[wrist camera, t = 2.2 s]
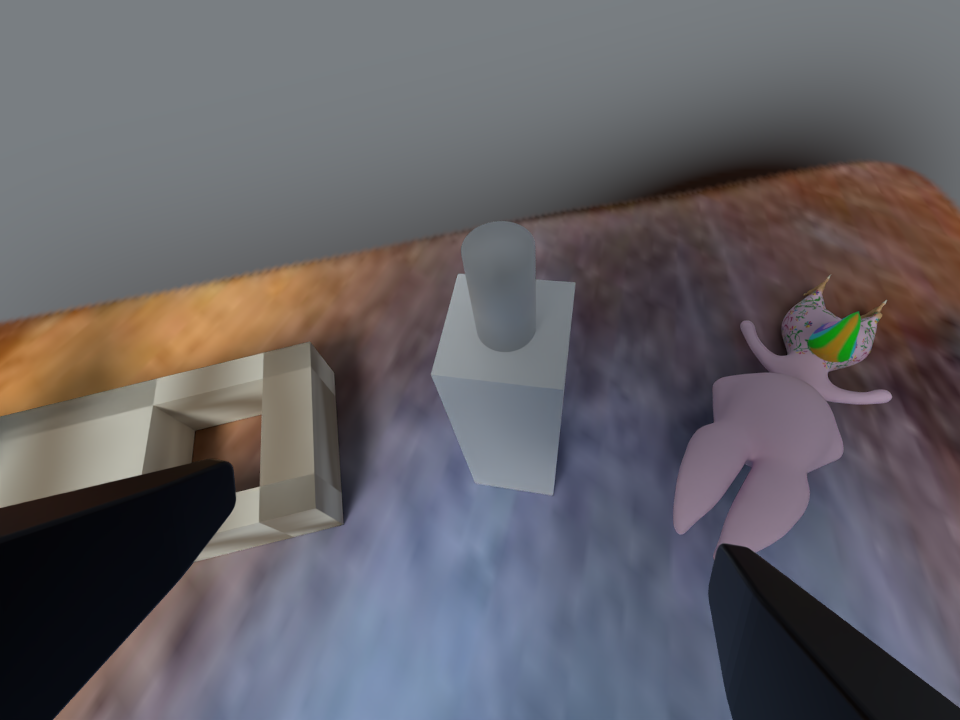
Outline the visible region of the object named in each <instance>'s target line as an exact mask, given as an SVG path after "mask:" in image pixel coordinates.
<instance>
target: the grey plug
mask: <svg viewBox="0 0 960 720" xmlns="http://www.w3.org/2000/svg"><path fill="white" fill-rule="evenodd" d="M461 255H462V260H463V265H464V270H465V274H458V276H457V279H456V283H455V287H454V291H453V294H452V298H451V302H450V305H449V309H448V313H447V317H446V320H445V324H444V328H443V332H442V335H441V339H440V343H439V346H438V350H437V354H436V358H435V361H434V365H433V369H432V373H431V376H432V378H433V381H434V383H435V386H436V388H437V391H438V393H439V396H440V398H441V400H442V403H443V405H444V408H445V410H446V413H447V415H448V418H449V420H450V422H451V425H452V427H453V430H454V432H455V435H456V437H457V440H458V442H459V445H460V447H461V449H462V452H463V454H464V457H465V459H466V462H467V464H468V467H469V469H470V471H471V474H472V476H473V479H474V481H475V483H476V484H482V485H488V486H495V487H501V488H507V489H514V490H520V491H526V492H533V493H539V494H545V495H552V496H553V492H554V483H555V474H556V465H557V456H558V447H559V438H560V428H561V419H562V409H563V400H564V390H565V380H566V371H567V361H568V351H569V341H570V332H571V322H572V312H573V303H574V293H575V283H576V282H563V281H550V280H537V279H536V268H535V241H534V238H533V236H532V235H531V233H530V232H529V231H528V230H527V229H525V228H524V227H522V226H521V225H518V224H516V223H513V222H507V221H495V222H490V223H486V224H483V225H481V226H479V227H477V228H475V229H474V230H473V231H471V232H470V233H469V234H468V235H467V236H466V238H465V239H464V241H463V244H462V247H461Z"/></svg>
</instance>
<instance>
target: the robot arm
mask: <svg viewBox="0 0 960 720" xmlns="http://www.w3.org/2000/svg"><path fill="white" fill-rule="evenodd" d="M235 504H236V490H235V480H234V470H233V467H232V465H231V463H229V462H227V461H223V460H217V459H206V460H201V461H197V462H193V463H189V464H185V465H180V466H176V467H172V468H168V469H163V470H159V471H155V472H151V473H146V474H142V475H138V476H134V477H129V478H125V479H121V480H117V481H112V482H108V483H104V484H100V485H95V486H91V487H87V488H83V489H78V490H74V491H70V492H66V493H61V494H57V495H53V496H49V497H44V498H40V499H36V500H32V501H27V502H23V503H19V504H15V505H10V506H6V507H2V508H0V720H53V719H54V718H55V717H56V716H57V715H58V714H59V713H60V711H61V710H62V709H63V708H64V707H65V706H66V705H67V704H68V703H69V702H70V700H71V699H72V698H73V697H74V696H75V695H76V694H77V693H78V692H79V691H80V689H81V688H82V687H83V686H84V685H85V684H86V683H87V682H88V681H89V679H90V678H91V677H92V676H93V675H94V674H95V673H96V672H97V671H98V670H99V668H100V667H101V666H102V665H103V664H104V663H105V662H106V661H107V660H108V659H109V657H110V656H111V655H112V654H113V653H114V652H115V651H116V650H117V649H118V648H119V646H120V645H121V644H122V643H123V642H124V641H125V640H126V639H127V638H128V637H129V635H130V634H131V633H132V632H133V631H134V630H135V629H136V628H137V627H138V625H139V624H140V623H141V622H142V621H143V620H144V619H145V618H146V617H147V616H148V614H149V613H150V612H151V611H152V610H153V609H154V608H155V607H156V606H157V605H158V603H159V602H160V601H161V600H162V599H163V598H164V597H165V596H166V595H167V594H168V592H169V591H170V590H171V589H172V588H173V587H174V586H175V585H176V583H177V582H178V581H179V580H180V579H181V578H182V576H183V575H184V574H185V573H186V571H187V570H188V569H189V568H190V566H191V565H192V564H193V562H194V561H195V560H196V559H197V557H198V556H199V555H200V553H201V552H202V551H203V549H204V548H205V547H206V545H207V544H208V543H209V542H210V540H211V539H212V538H213V536H214V535H215V534H216V532H217V531H218V530H219V528H220V527H221V526H222V525H223V523H224V522H225V521H226V519H227V518H228V517H229V515H230V514H231V513H232V511H233V509H234V507H235ZM708 595H709V604H710V609H711V615H712V620H713V626H714V631H715V637H716V642H717V648H718V654H719V659H720V665H721V670H722V676H723V681H724V686H725V691H726V696H727V700H728V704H729V708H730V711H731V715H732V719H733V720H960V708H959V707H958V706H956V705H955V704H954V703H952V702H951V701H950V700H948V699H947V698H946V697H945V696H943V695H942V694H941V693H939V692H938V691H937V690H935V689H934V688H933V687H931V686H930V685H929V684H927V683H926V682H925V681H923V680H922V679H921V678H920V677H918V676H917V675H916V674H914V673H913V672H912V671H910V670H909V669H908V668H906V667H905V666H904V665H902V664H901V663H900V662H898V661H897V660H896V659H895V658H893V657H892V656H891V655H889V654H888V653H887V652H885V651H884V650H883V649H881V648H880V647H879V646H877V645H876V644H875V643H873V642H872V641H871V640H869V639H868V638H867V637H866V636H864V635H863V634H862V633H860V632H859V631H858V630H856V629H855V628H854V627H852V626H851V625H850V624H848V623H847V622H846V621H844V620H843V619H842V618H841V617H839V616H838V615H837V614H835V613H834V612H833V611H831V610H830V609H829V608H827V607H826V606H825V605H823V604H822V603H821V602H819V601H818V600H817V599H816V598H814V597H813V596H812V595H810V594H809V593H808V592H806V591H805V590H804V589H802V588H801V587H800V586H798V585H797V584H796V583H794V582H793V581H792V580H790V579H789V578H788V577H787V576H785V575H784V574H783V573H781V572H780V571H779V570H777V569H776V568H775V567H773V566H772V565H771V564H769V563H768V562H767V561H765V560H764V559H763V558H762V557H760V556H759V555H758V554H756V553H755V552H754V551H752V550H751V549H750V548H748V547H745V546H739V545H733V544H727V543H722V544H720V545H719V547H718V548H717V551H716V555H715V560H714V564H713V569H712V573H711V578H710V582H709V590H708Z"/></svg>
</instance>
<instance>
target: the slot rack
mask: <svg viewBox="0 0 960 720" xmlns="http://www.w3.org/2000/svg"><path fill="white" fill-rule="evenodd" d="M261 414H262V424H261V459H260V487H256V488H252V489H248V490H244V491H240V492H236V504H235V507H234V509H233V511H232V513H231V514H230V515H229V517H228V518H227V519H226V521H225V522H224V523H223V525H222V526H221V527H220V528H219V530H218V531H217V532H216V534H215V535H214V536H213V538H212V539H211V540H210V542H209V543H208V544H207V545H206V547H205V548H204V549H203V551H202V552H201V553H200V555H199V556H198V557H197V559H196V560H195V561H194V562H196V561H200V560H204V559H208V558H212V557H216V556H220V555H224V554H228V553H232V552H236V551H240V550H244V549H248V548H252V547H256V546H260V545H264V544H268V543H272V542H276V541H280V540H284V539H288V538H292V537H296V536H300V535H304V534H308V533H312V532H316V531H320V530H324V529H328V528H332V527H336V526H340V525H344V523H343V507H342V491H341V475H340V459H339V443H338V427H337V412H336V396H335V380H334V372H333V371H332V369H331V368H330V367H329V366H328V364H327V363H326V362H325V360H324V359H323V358H322V357H321V355H320V354H319V353H318V351H317V350H316V349H315V347H314V346H313V345H312V344H311V342H306V343H302V344H298V345H294V346H290V347H286V348H282V349H278V350H273V351H269V352H265V353H261V354H257V355H253V356H249V357H245V358H240V359H236V360H232V361H228V362H224V363H220V364H216V365H212V366H207V367H203V368H199V369H195V370H191V371H187V372H183V373H179V374H174V375H170V376H166V377H162V378H158V379H154V380H150V381H145V382H141V383H137V384H133V385H129V386H125V387H121V388H117V389H112V390H108V391H104V392H100V393H96V394H92V395H88V396H84V397H79V398H75V399H71V400H67V401H63V402H59V403H55V404H51V405H46V406H42V407H38V408H34V409H30V410H26V411H22V412H18V413H13V414H9V415H5V416H1V417H0V508H2V507H6V506H10V505H15V504H19V503H23V502H27V501H32V500H36V499H40V498H44V497H49V496H53V495H57V494H61V493H66V492H70V491H74V490H78V489H83V488H87V487H91V486H95V485H100V484H104V483H108V482H112V481H117V480H121V479H125V478H129V477H134V476H138V475H142V474H146V473H151V472H155V471H159V470H163V469H168V468H172V467H176V466H180V465H185V464H189V463H192V454H193V444H194V435H195V431H196V430H200V429H204V428H208V427H212V426H216V425H220V424H224V423H228V422H232V421H236V420H241V419H245V418H249V417H253V416H257V415H261Z"/></svg>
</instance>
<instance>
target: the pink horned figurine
mask: <svg viewBox="0 0 960 720" xmlns="http://www.w3.org/2000/svg"><path fill="white" fill-rule="evenodd" d="M830 276H831V275H830ZM830 276H828V277H827V278H826V280H825V281H824V282H823V283H821V284H820V285H819V286H817V287H815V288H814V289H812V290H809V291H808V292H807V293H806V294H805V293H804V294H803V296H806V295H809V296H807V297H806V298H804V299H803V300H802V301H800V302H799V303H798V304H796V305H795V306H794V307H792V308H791V309H790V310H789V312H788V313H787V314H786V316H785V317H784V320H783V323H782V337H783V340H784V343H785V347H786V350H787V353H788V354H787V355H785V356H779V355H776V354H774V353H772V352H771V351H769V350H768V349H767V348H766V347H765V346H764V345H763V343H762V342H761V341H760V340H759V338H758V336H757V333H756V329H755V326H754V324H753V323H752V322H751V321H748V320H746V321H743V322H742V323H741V325H740V328H741V331H742V333H743V335H744V337H745V339H746V341H747V343H748V345H749V347H750V348H751V350H752V352H753V353H754V354H755V356H756V357H757V358H758V360H759V361H760V362H761V364H762V365H763V366H764V367H765V368H766V369H767V370H768V371H769V373H752V374H741V375H733V376H727V377H723V378H720V379H718V380H717V381H715V382H714V384H713V387H712V393H713V415H714V423H712V424H708V425H705V426H703V427H701V428H700V429H698V430H697V431H696V432H695V433H694V435H693V436H692V438H691V439H690V441H689V443H688V446H687V448H686V451H685V455H684V457H683V459H682V462H681V465H680V469H679V473H678V478H677V484H676V490H675V498H674V506H673V524H674V528H675V530H676V532H677V533H678V534H680V535H682V534H684V533H685V532H686V531H687V530H688V529H689V528H690V527H692V526H693V525H694V524H695V523H696V522H697V521H698V520H699V519H700V518H701V517H703V516H704V515H705V514H706V513H707V512H709V511H710V510H711V509H712V508H713V507H714V506H715V505H716V504H717V502H718V501H719V500H720V499H721V498H722V496H723V495H724V494H725V492H726V491H727V489H728V488H729V486H730V485H731V483H732V482H733V480H734V479H735V478H736V476H737V475H738V473H739V472H740V470H741V469H742V467H743V465H744V464H746V465H747V466H749V467H751V470H750V472H749V474H748V475H747V477H746V479H745V481H744V483H743V484H742V486H741V488H740V490H739V492H738V494H737V496H736V498H735V499H734V501H733V503H732V505H731V508H730V510H729V512H728V514H727V517H726V519H725V522H724V525H723V528H722V532H721V535H720V538H719V541H718V544H717V546H716V549H715V551H714V554H713V559H714V560H715V555H716V551H717V548H718V547H719V545H720V544H722V543H727V544H733V545H739V546H745V547H748V548H750V549H751V550H752V551H754V552H755V553H756V552H758V551H760V550H762V549H764V548H766V547H768V546H769V545H771V544H773V543H774V542H776V541H777V540H779V539H780V538H781V537H783V536H784V535H785V534H786V533H787V532H788V531H789V530H790V529H791V528H792V527H793V526H794V525H795V524H796V522H797V521H798V520H799V519H800V518H801V516H802V515H803V514H804V512H805V510H806V508H807V506H808V503H809V498H810V489H809V484H808V480H807V473H808V472H811V471H813V470H815V469H817V468H819V467H822V466H824V465H826V464H828V463H831V462H833V461H836V460H838V459H839V458H840V457H841V456H842V454H843V451H844V448H843V442H842V438H841V435H840V433H839V430H838V427H837V424H836V421H835V417H834V415H833V412H832V410H831V408H830V406H829V404H828V403H827V401H830V402H836V403H846V404H878V403H886V402H888V401H890V400H891V399H892V395H891V393H890V392H888V391H886V390H881V389H879V390H874V391H870V392H854V391H848V390H844V389H841V388H838V387H836V386H835V385H833V384H832V383H831V382H830V380H829V378H828V372H830V371H832V370H837V369H841V368H845V367H849V366H852V365H854V364H856V363H859V362H860V361H862V360H863V359H865V358H866V357H867V356H868V354H869V353H870V351H871V348H872V344H873V341H874V337H875V333H876V328H877V322H878V321H879V319H880V318H881V317H882V313H880V311H881V309H882V307H883V306H884V305H885V304H886V301H887V300H886V301H884V302H883V303H882V304H881V305H880V306H879V307H877V308H875V309H873V310H872V311H870V312H869V313H867V314H865V315H862V316H860V314H859V311H858V312H855V313H852V314H850V315H848V316H847V317H845V318H843V319H840V318H839V317H837V316H835V315H834V314H832V313H831V312H830V311H828V310H826V308H825V304H824V300H823V296H822V294H823V291H824V288H825V285H826V282H827V281H828V280H829V278H830Z"/></svg>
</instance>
